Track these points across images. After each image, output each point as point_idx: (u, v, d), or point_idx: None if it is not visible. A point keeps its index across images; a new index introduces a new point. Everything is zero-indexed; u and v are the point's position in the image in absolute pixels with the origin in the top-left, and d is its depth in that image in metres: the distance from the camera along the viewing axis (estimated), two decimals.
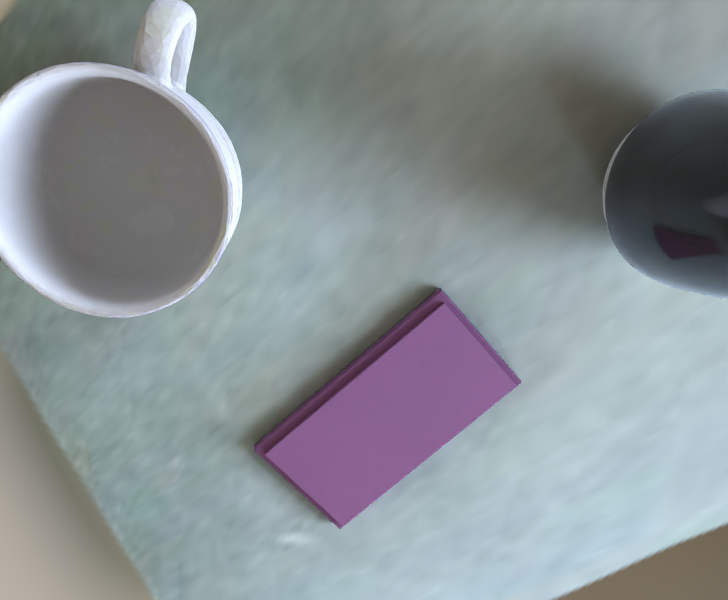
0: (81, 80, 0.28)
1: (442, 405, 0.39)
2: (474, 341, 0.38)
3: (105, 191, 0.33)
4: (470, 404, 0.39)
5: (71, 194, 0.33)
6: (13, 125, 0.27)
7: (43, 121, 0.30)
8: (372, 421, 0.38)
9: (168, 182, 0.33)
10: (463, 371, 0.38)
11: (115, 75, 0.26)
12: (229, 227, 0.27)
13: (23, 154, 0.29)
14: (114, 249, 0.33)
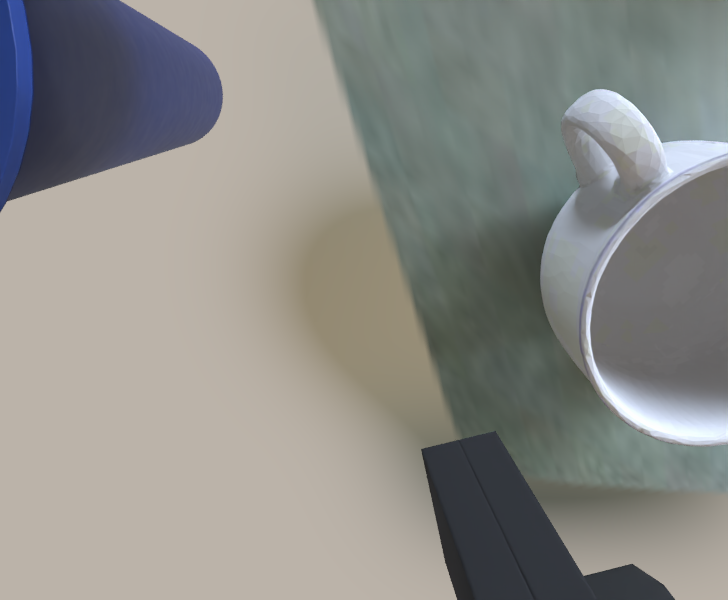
0: None
1: None
2: None
3: (623, 305, 0.28)
4: None
5: (609, 339, 0.28)
6: None
7: None
8: None
9: (659, 237, 0.27)
10: None
11: (641, 216, 0.20)
12: None
13: None
14: (685, 332, 0.28)
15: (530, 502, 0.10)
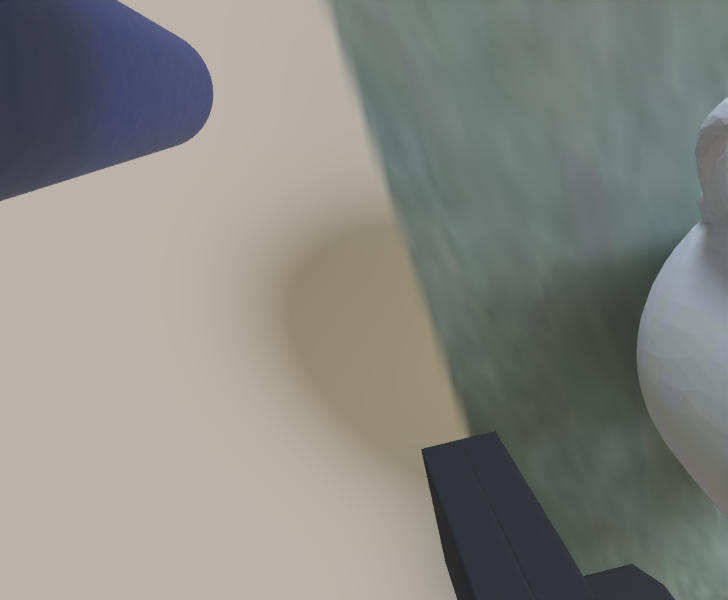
0: None
1: None
2: None
3: None
4: None
5: None
6: None
7: None
8: None
9: None
10: None
11: None
12: None
13: None
14: None
15: (530, 502, 0.10)
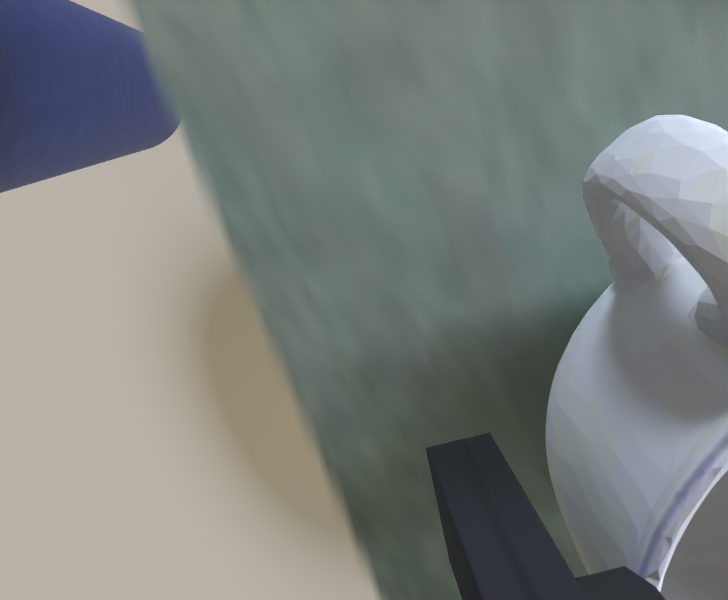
0: None
1: None
2: None
3: None
4: None
5: None
6: None
7: None
8: None
9: None
10: None
11: None
12: None
13: None
14: None
15: (523, 504, 0.10)
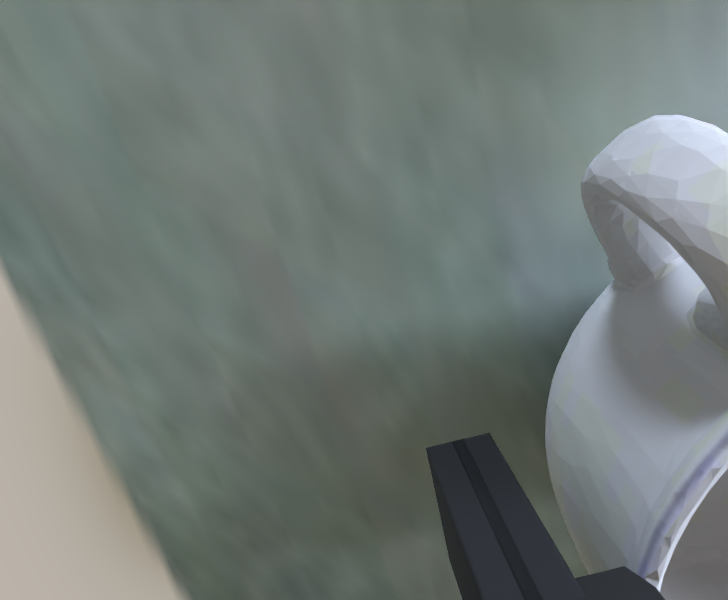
0: None
1: None
2: None
3: None
4: None
5: None
6: None
7: None
8: None
9: None
10: None
11: None
12: None
13: None
14: None
15: (523, 504, 0.10)
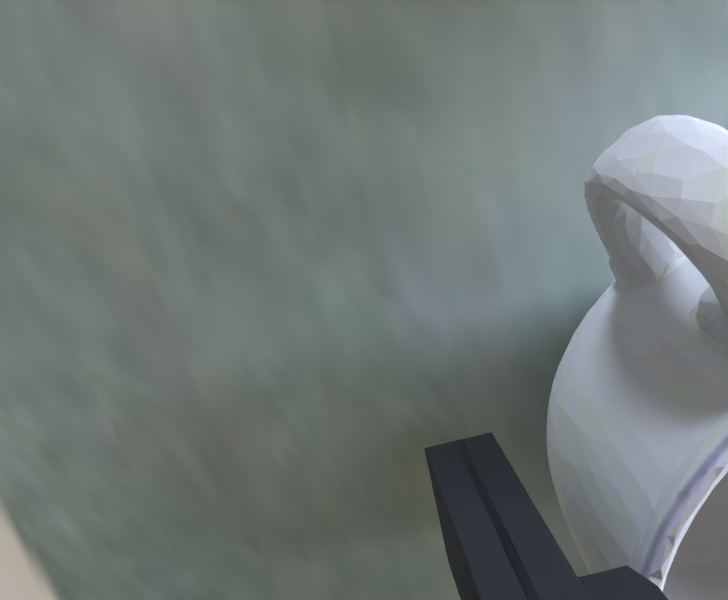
0: None
1: None
2: None
3: None
4: None
5: None
6: None
7: None
8: None
9: None
10: None
11: None
12: None
13: None
14: None
15: (525, 503, 0.10)
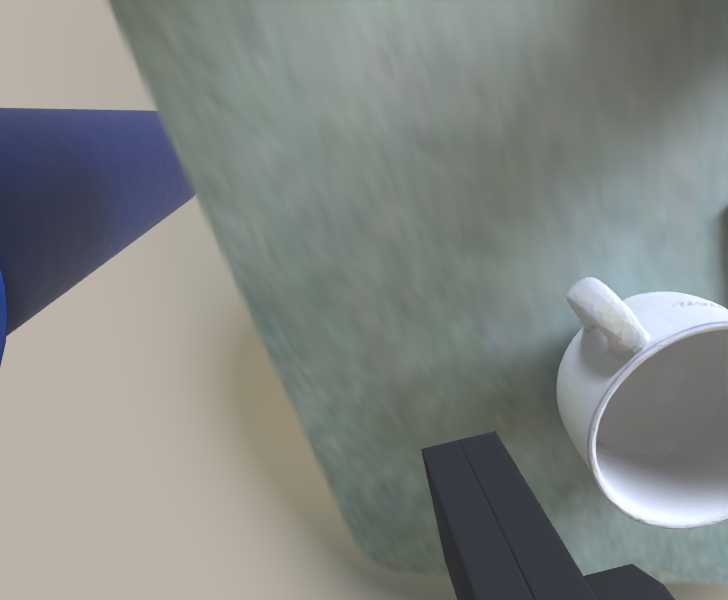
0: None
1: None
2: None
3: (623, 406, 0.36)
4: None
5: (613, 433, 0.36)
6: None
7: None
8: None
9: None
10: None
11: None
12: None
13: None
14: (673, 425, 0.36)
15: (530, 502, 0.10)
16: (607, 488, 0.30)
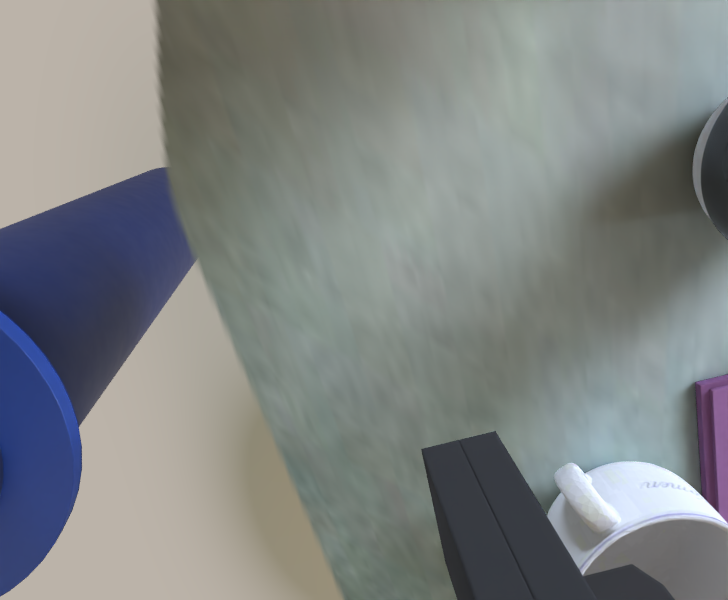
0: None
1: None
2: None
3: None
4: None
5: (589, 569, 0.42)
6: None
7: None
8: None
9: None
10: None
11: None
12: None
13: None
14: (640, 563, 0.42)
15: (530, 502, 0.10)
16: None
